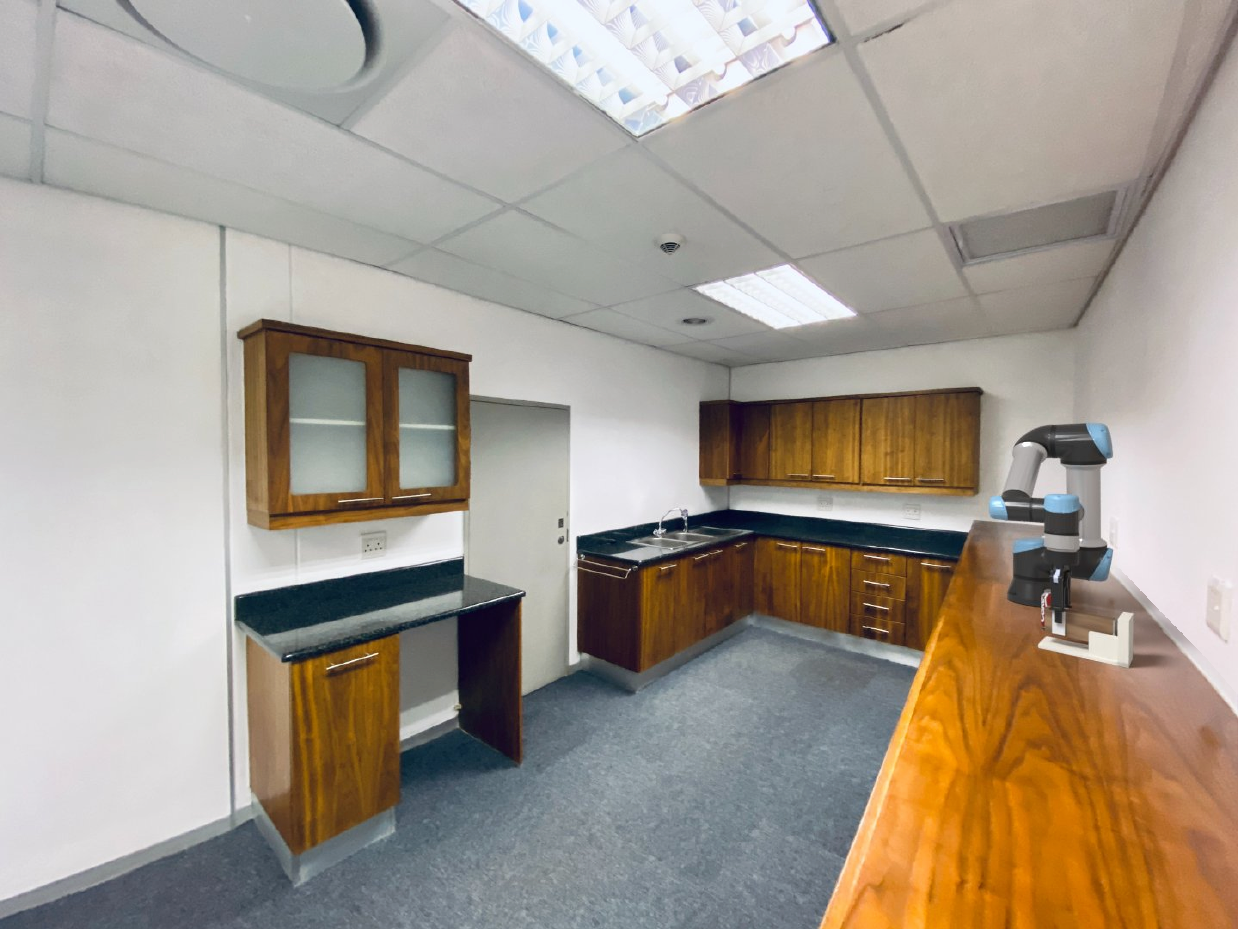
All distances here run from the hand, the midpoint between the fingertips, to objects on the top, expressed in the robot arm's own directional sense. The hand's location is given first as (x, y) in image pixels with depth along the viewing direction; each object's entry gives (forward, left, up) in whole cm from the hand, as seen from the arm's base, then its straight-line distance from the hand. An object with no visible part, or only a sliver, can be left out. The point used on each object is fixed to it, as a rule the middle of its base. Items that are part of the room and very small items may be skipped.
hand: (1060, 632), depth 143 cm
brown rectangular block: (0, +4, 0) cm, 4 cm away
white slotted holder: (0, +5, -4) cm, 7 cm away
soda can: (-17, -4, -5) cm, 18 cm away
